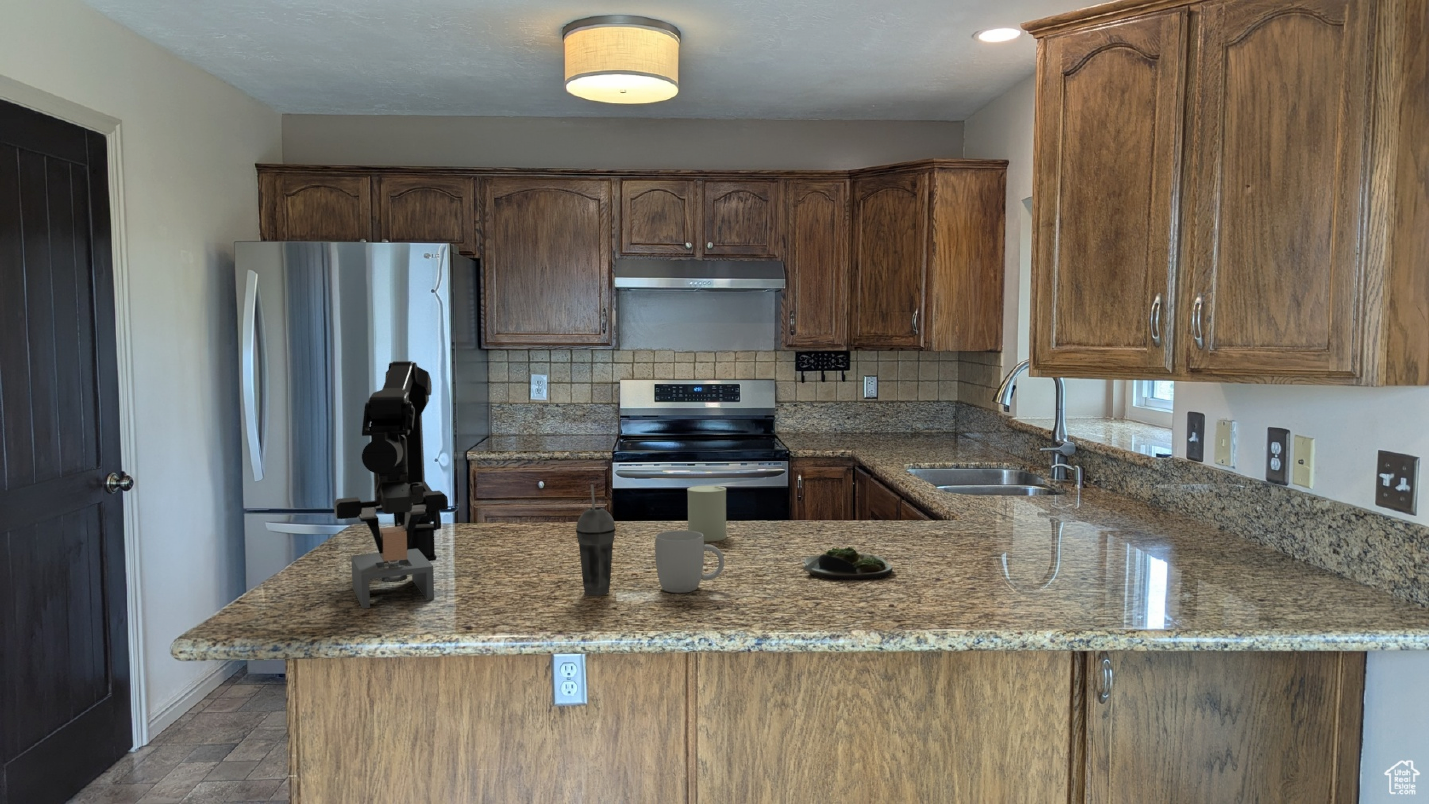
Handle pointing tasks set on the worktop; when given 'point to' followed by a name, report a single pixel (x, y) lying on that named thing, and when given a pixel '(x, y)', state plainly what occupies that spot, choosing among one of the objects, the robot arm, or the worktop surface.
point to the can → (707, 512)
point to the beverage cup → (596, 548)
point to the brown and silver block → (393, 549)
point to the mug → (683, 560)
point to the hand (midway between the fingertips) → (393, 551)
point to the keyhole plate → (391, 573)
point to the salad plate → (847, 565)
